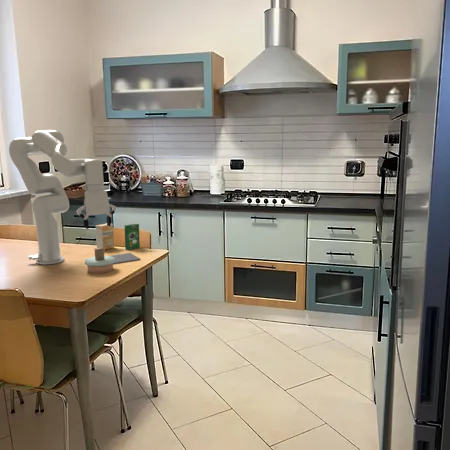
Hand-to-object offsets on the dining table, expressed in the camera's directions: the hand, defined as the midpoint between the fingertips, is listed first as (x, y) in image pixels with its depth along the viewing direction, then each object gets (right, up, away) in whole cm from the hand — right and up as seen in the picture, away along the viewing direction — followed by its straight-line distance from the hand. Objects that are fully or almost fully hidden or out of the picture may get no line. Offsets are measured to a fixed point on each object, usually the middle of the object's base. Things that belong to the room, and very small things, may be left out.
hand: (98, 227), depth 207 cm
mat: (+5, -16, +22) cm, 27 cm away
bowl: (0, -19, +4) cm, 20 cm away
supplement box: (-7, -12, +43) cm, 45 cm away
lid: (0, -16, +3) cm, 16 cm away
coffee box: (+7, -12, +42) cm, 44 cm away
